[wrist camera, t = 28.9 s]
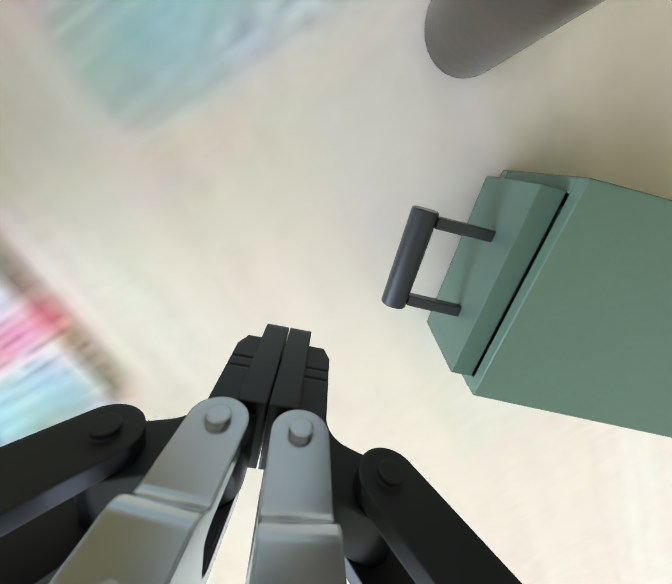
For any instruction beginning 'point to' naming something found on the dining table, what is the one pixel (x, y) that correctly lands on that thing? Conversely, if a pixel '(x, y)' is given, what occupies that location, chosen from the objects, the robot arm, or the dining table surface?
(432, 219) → the drawer
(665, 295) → the cabinet
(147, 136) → the dining table surface
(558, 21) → the pepper mill
